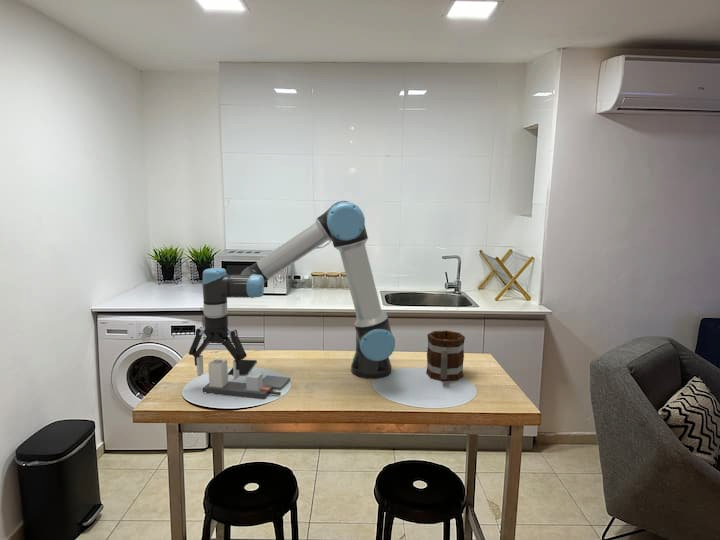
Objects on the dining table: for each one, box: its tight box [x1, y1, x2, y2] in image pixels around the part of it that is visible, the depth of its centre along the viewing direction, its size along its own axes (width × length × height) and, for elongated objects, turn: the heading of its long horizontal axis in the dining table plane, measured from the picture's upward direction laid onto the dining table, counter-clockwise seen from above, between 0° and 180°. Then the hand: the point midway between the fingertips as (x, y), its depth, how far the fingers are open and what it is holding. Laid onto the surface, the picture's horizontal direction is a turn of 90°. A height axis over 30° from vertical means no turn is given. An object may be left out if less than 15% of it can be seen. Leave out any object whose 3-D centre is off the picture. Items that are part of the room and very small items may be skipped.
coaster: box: [262, 375, 291, 391], centre depth 174 cm, size 9×9×1 cm
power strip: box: [202, 380, 282, 400], centre depth 167 cm, size 26×7×2 cm, turn 78°
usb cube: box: [245, 371, 264, 391], centre depth 166 cm, size 4×4×4 cm
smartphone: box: [228, 359, 258, 377], centre depth 189 cm, size 7×1×15 cm
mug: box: [425, 330, 466, 383], centre depth 180 cm, size 20×14×15 cm
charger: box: [208, 358, 229, 387], centre depth 168 cm, size 4×4×8 cm
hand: (218, 376), depth 168 cm, fingers open, 12 cm apart
